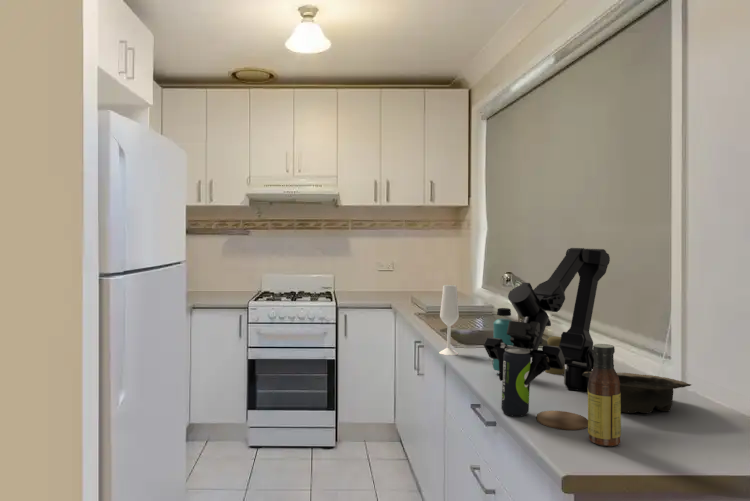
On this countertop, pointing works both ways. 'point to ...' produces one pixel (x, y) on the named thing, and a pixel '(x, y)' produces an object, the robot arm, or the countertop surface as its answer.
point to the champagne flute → (449, 313)
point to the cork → (555, 342)
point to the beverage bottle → (501, 331)
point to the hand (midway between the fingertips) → (512, 382)
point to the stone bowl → (645, 392)
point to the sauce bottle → (604, 398)
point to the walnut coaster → (562, 420)
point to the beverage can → (515, 381)
